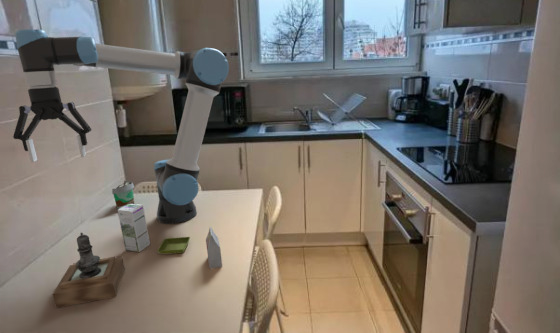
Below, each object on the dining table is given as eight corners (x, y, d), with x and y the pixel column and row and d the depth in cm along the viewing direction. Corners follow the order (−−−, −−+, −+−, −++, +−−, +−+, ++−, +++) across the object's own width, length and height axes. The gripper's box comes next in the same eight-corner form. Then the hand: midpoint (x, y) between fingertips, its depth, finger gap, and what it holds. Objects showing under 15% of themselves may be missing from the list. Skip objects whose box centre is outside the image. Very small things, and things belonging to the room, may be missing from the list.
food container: (130, 211, 151) (126, 188, 148) (115, 211, 151) (111, 189, 148) (141, 200, 163) (138, 179, 160) (128, 201, 163) (124, 180, 160)
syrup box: (150, 244, 120) (144, 203, 116) (138, 252, 115) (131, 210, 111) (137, 242, 122) (129, 202, 118) (124, 250, 117) (116, 209, 113)
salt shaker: (92, 279, 93) (83, 238, 90) (73, 278, 94) (62, 237, 91) (107, 267, 99) (98, 227, 95) (88, 266, 100) (79, 227, 97)
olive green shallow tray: (157, 257, 112) (156, 251, 112) (165, 243, 121) (164, 238, 120) (185, 255, 112) (184, 249, 112) (191, 242, 121) (190, 236, 120)
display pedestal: (124, 268, 106) (121, 253, 104) (115, 296, 93) (112, 279, 91) (73, 277, 103) (69, 261, 101) (56, 307, 89) (51, 289, 88)
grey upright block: (220, 255, 110) (216, 225, 108) (222, 266, 104) (218, 235, 101) (208, 257, 109) (204, 227, 107) (209, 268, 103) (205, 237, 100)
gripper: (93, 83, 109) (106, 151, 115) (0, 89, 104) (18, 160, 110) (86, 84, 102) (100, 156, 108) (-14, 91, 97) (6, 166, 102)
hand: (59, 158), depth 109 cm, fingers open, 13 cm apart
